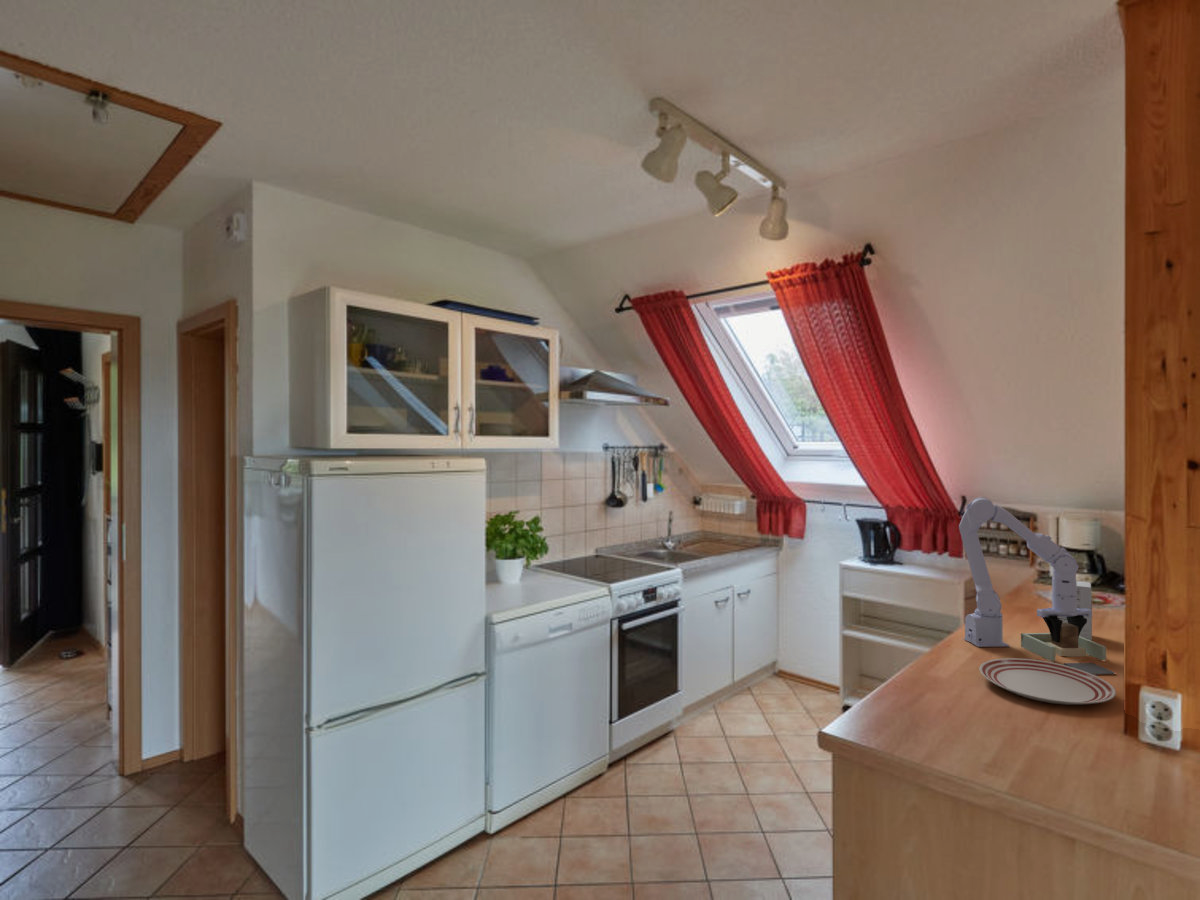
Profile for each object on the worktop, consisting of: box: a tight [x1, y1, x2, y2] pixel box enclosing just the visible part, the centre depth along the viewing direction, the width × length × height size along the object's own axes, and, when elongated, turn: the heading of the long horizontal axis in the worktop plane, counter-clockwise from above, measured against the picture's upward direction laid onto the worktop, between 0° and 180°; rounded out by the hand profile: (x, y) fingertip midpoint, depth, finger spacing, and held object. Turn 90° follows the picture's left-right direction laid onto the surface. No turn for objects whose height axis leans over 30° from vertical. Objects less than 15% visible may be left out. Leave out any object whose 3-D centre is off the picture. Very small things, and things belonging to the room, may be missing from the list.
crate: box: [1020, 632, 1107, 663], centre depth 181 cm, size 15×13×4 cm
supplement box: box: [1057, 580, 1093, 641], centre depth 197 cm, size 10×9×17 cm
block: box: [1051, 623, 1078, 648], centre depth 182 cm, size 4×4×6 cm
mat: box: [1063, 662, 1115, 676], centre depth 168 cm, size 8×8×1 cm
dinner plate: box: [979, 657, 1117, 705], centre depth 155 cm, size 27×27×3 cm
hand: (1064, 641), depth 182 cm, fingers closed on block, 4 cm apart
